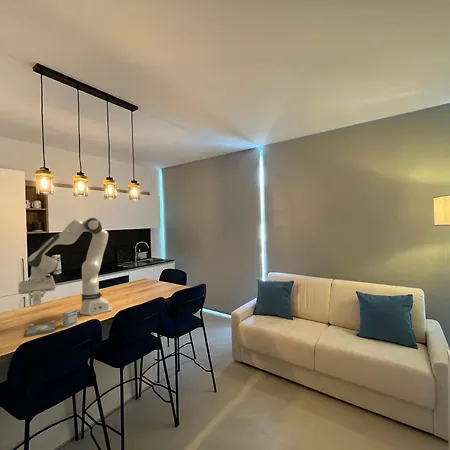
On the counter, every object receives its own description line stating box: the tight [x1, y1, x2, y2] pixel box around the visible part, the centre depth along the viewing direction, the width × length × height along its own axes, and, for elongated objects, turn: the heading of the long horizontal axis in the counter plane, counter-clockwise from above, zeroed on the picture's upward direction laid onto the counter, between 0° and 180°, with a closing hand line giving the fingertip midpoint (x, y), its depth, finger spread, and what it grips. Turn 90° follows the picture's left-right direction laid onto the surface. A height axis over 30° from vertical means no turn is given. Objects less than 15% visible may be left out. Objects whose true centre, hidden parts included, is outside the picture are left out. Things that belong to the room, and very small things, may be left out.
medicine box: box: [62, 309, 78, 328], centre depth 171 cm, size 8×4×9 cm, turn 170°
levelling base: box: [25, 319, 56, 338], centre depth 161 cm, size 14×14×3 cm
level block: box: [32, 290, 42, 307], centre depth 171 cm, size 4×5×8 cm
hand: (36, 297), depth 171 cm, fingers closed on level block, 4 cm apart
